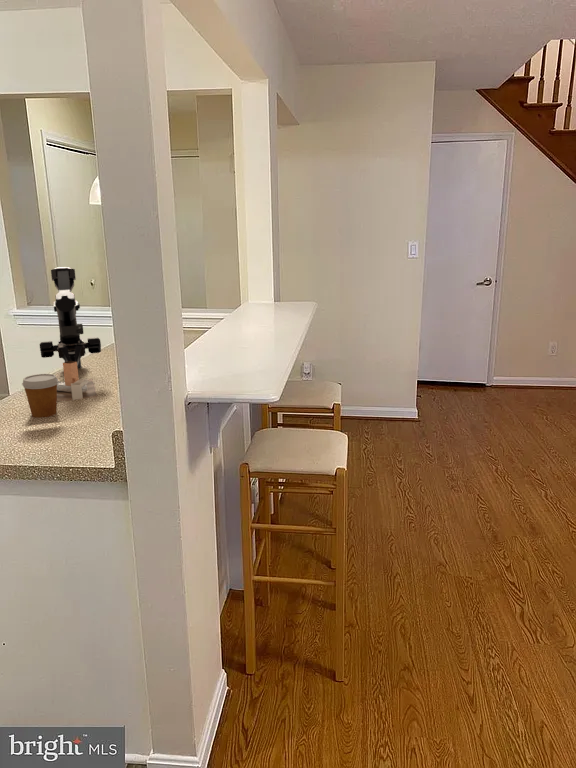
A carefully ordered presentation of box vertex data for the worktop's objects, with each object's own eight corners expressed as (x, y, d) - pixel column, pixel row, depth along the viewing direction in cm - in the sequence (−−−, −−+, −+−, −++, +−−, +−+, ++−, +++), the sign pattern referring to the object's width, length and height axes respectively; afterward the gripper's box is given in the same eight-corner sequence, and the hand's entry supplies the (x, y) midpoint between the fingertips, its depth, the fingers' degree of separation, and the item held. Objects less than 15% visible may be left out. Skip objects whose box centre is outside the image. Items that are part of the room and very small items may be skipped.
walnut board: (46, 386, 198) (46, 383, 197) (92, 382, 203) (92, 378, 203) (46, 406, 176) (46, 402, 176) (98, 400, 182) (97, 397, 181)
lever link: (53, 386, 192) (50, 358, 189) (88, 390, 187) (85, 361, 185) (44, 389, 188) (40, 361, 185) (79, 393, 183) (76, 364, 181)
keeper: (71, 393, 186) (70, 379, 185) (89, 391, 188) (87, 377, 186) (72, 399, 179) (71, 385, 177) (90, 397, 181) (89, 384, 179)
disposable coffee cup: (54, 423, 161) (49, 382, 158) (20, 423, 162) (15, 382, 158) (67, 412, 171) (63, 373, 167) (35, 412, 171) (30, 373, 168)
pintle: (44, 388, 191) (43, 377, 190) (64, 386, 193) (62, 376, 192) (44, 393, 185) (43, 382, 184) (64, 391, 188) (63, 380, 187)
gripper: (36, 317, 183) (40, 359, 177) (97, 313, 190) (103, 353, 184) (39, 336, 193) (43, 377, 186) (97, 332, 199) (103, 371, 193)
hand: (73, 369), depth 187 cm, fingers closed
